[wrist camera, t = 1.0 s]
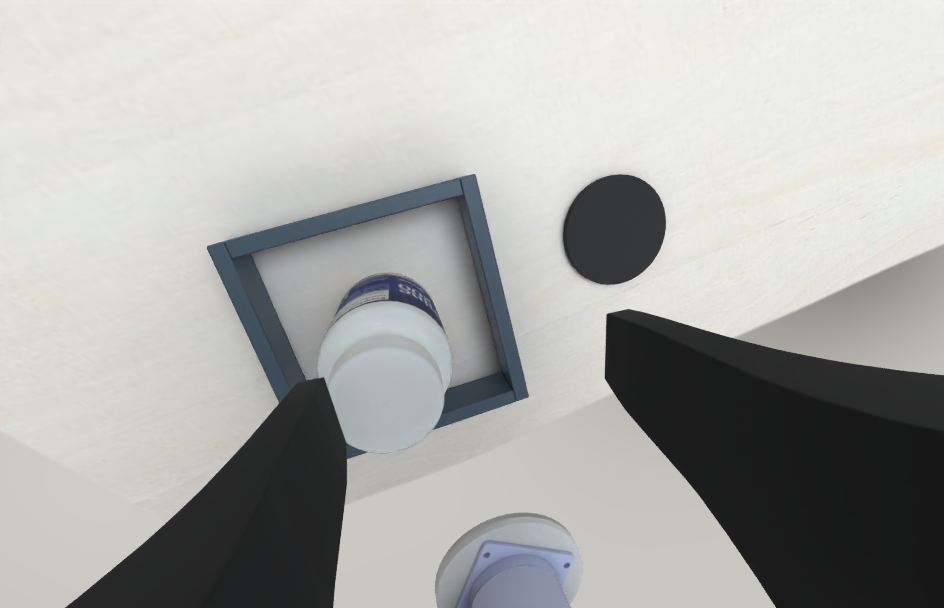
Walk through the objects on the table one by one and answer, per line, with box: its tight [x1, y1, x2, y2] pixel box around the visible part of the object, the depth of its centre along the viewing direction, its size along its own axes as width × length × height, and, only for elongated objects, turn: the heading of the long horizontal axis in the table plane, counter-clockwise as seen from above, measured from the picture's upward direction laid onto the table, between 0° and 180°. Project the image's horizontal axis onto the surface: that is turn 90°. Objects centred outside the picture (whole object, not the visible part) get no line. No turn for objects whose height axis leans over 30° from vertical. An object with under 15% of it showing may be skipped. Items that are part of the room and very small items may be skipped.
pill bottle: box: [317, 273, 453, 453], centre depth 18 cm, size 5×5×10 cm
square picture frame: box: [207, 174, 529, 459], centre depth 21 cm, size 13×13×2 cm
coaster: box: [564, 175, 666, 285], centre depth 24 cm, size 6×6×1 cm
